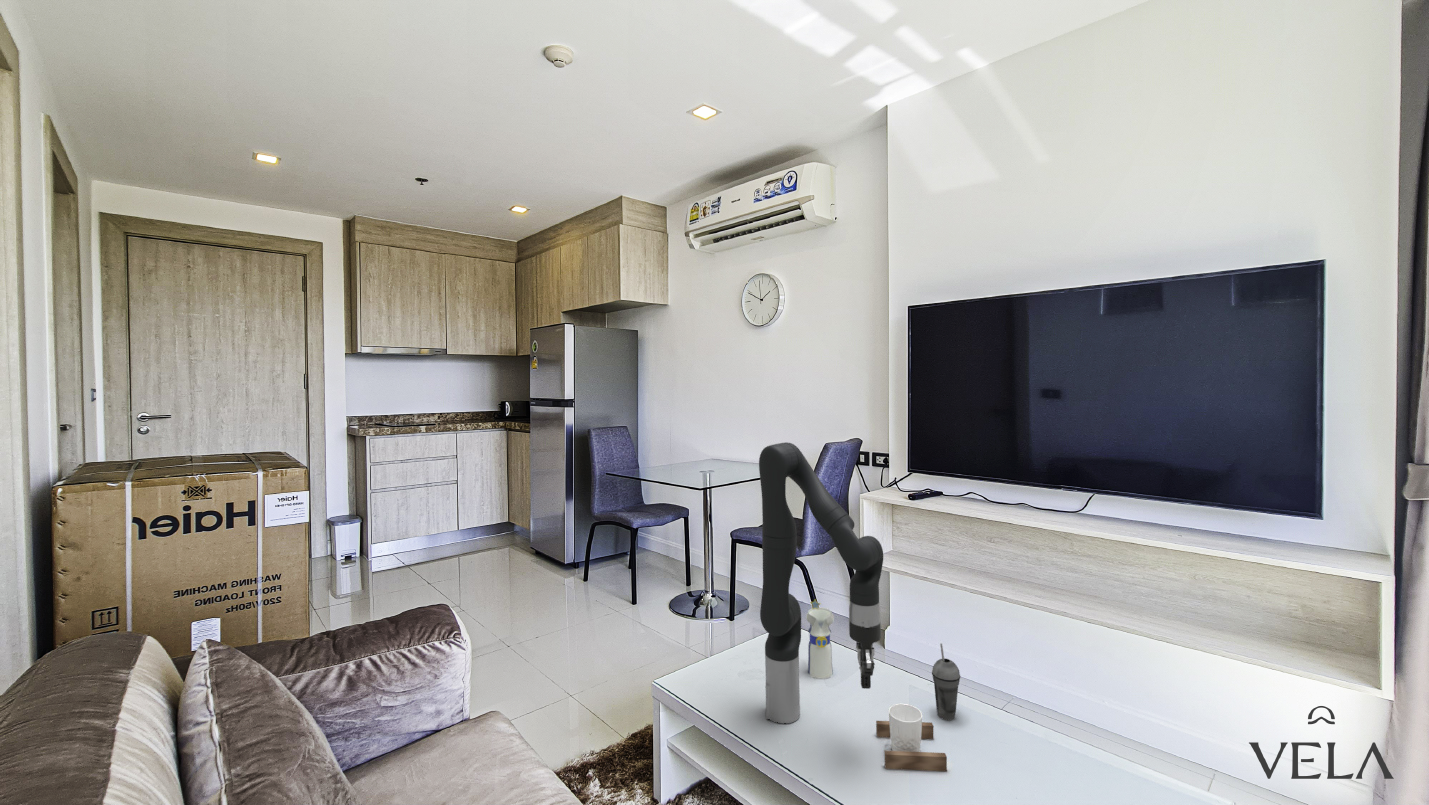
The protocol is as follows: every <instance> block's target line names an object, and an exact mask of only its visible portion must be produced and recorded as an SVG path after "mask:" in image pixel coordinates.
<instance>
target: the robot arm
mask: <svg viewBox="0 0 1429 805" xmlns="http://www.w3.org/2000/svg"><path fill="white" fill-rule="evenodd" d="M758 471H759V480H760V481H759V482H760V490H761V504H762V506H761V509H762V510H761V513H762V525H761V526H762V528H761V530H762V531H761V533H762V535H761V536H762V537H761V542H762V543H761V544H762V549H761V550H762V590H761V591H762V592H761V601H760V611H759V615H760V616H759V617H760V622H761V625H762V627H763V629H764V630H765V632H766V633H767V634H768V635H767V638H766V640H765V643H764V655H765V656H764V658H765V661H764V662H765V663H764V664H765V719H766V720H767V719H771V720H770V721H772V720H773V721H772V722H774V721H775V722H774V723H777V722H778V723H777V724H784V723H786V724H790V723H794V722H796V721H797V720H799V718H800V716H801V704H800V700H801V699H800V698H801V697H800V696H801V694H800V689H801V688H800V654H799V653H800V651H799V650H800V645H801V642H802V641H801V640H802V639H801V638H802V610H801V609H802V608H801V605H800V603H799V601H798V599H797V597H795V596H794V595H793V594H792V593H790V582H791V576H792V572H793V569H794V565H795V561H796V555H797V549H798V547H797V546H798V543H797V542H798V541H797V538H798V534H797V525H796V521H795V519H794V516H793V514H792V512H791V509H790V507H789V505H788V503H787V502H788V500H787V496H786V494H787V493H786V483H787V482H786V481H787V478H790V479H791V480H792V481H793V482H794V483H795V484H796V486H798V487H799V488H800V490H801V491H802V493H803V495H804V497H805V499H806V502H807V505H808V507H809V510H810V512H811V515H812V516H813V517H814V519H815V521H816V522H817V523H818V524H819V525H820V527H821V528H823V530H824V532H826V533H827V534H828V536H829V537H830V538H831V539H832V542H833V543H834V544H833V545H834V546H835V548H836V550H837V551H838V554H839V556H841V558H842V560H843V562H844V563H845V564H846V565H847V566H848V567H849V568H850V569H853V570H854V571H855V572H854V575H852V577H851V578H850V581H849V603H848V604H849V606H848V626H849V627H848V631H849V632H848V634H849V637H850V639H851V640H852V641H855V646H856V652H857V661H858V662H857V663H858V665H859V671H860V686H861V689H871V684H872V683H871V682H872V681H871V680H872V678H871V676H873V675H874V669H875V665H876V664H875V660H874V656H875V647H874V644H875V643H877V642H879V641H880V640H881V638H882V636H881V634H882V631H881V630H882V628H881V627H882V626H881V625H882V624H881V619H882V618H881V606H880V587H879V584H880V580H881V575H882V571H883V565H884V551H883V550H884V549H883V546H882V544H881V543H880V541H879V540H878V538H876V537H875V536H872V535H864V536H861V537H857V535H856V533H855V532H854V528H855V521H854V520H853V518H852V517H851V516H850V515H849V514H848V512H847V511H846V510H845V509H844V508H843V507H842V506H841V505H840V503H838V502H837V500H836V499H835V498H834V496H832V494H830V492H829V491H828V489H827V488H826V487H825V485H824V484H823V482H822V481H821V479H820V478H819V477H818V475H817V474H816V472H815V470H814V469H813V467H812V466H811V464H810V463H809V461H808V460H807V459H806V457H805V455H804V454H803V452H802V451H801V449H800V448H799V447H797V446H796V445H795V444H794V443H791V442H780V443H775V444H769V445H767V446H766V447H763V449H762V450H761V452H760V455H759V458H758Z"/></svg>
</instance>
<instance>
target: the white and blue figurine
mask: <svg viewBox="0 0 1429 805" xmlns="http://www.w3.org/2000/svg"><path fill="white" fill-rule="evenodd" d="M809 603H810V604H811V605H812V606H811V608H810V609H809V610H807V613H806V617H805V618H806V621H807V622H808V623H809V624H810V625H809V628H808V631H807V632H808V634H809V640H808V645H807V646H808V648H807V649H808V652H807V653H808V655H807V656H808V660H807V661H808V663H807V674H808V675H809V676H810V677H812V678H813V679H818V680H825V679H826V680H827V679H829V678H831V677H832V676H833V674H834V672H833V671H834V669H833V652H832V651H833V650H832V643H831V634H832V630H831V628H830V626H831V625H832V624H833V623H834V621H835V616H834V615H833V612H832V611H831V610H830V609H829V608H827V607H819V606H820V605H822V603H821V602H817V599H816V598H815V599H813V601H810V602H809Z"/></svg>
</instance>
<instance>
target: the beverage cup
mask: <svg viewBox="0 0 1429 805" xmlns="http://www.w3.org/2000/svg"><path fill="white" fill-rule="evenodd" d="M939 645H940V652H941V658H940V659H938V660H936V662H934V664H933V666H932V670H931V675H932V680H933V683H934V684H933V686H934V696H935V708H936V713H937V714H936V715H937V716H938V718H939V719H941V720H943V721H953V720H955V719H956V713H957V705H958V704H957V702H958V692H959V685H960V679H961V674H960V670H959V667H958V665H957V664H956V663H955V662H954V661H953V660H951V659H949V658H945V656H944V647H943V643H941V642H940V644H939Z"/></svg>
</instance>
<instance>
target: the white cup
mask: <svg viewBox="0 0 1429 805" xmlns="http://www.w3.org/2000/svg"><path fill="white" fill-rule="evenodd" d="M888 721H889V725H890V747H891V749H890V750H891V751H909V752H921V745H922V744H921V743H922V739H921V734H922V722H923V713H922V711H921V710H920V709H919V708H918V707H916V706H914V705H911V704H907V703H896V704H892V705H891V706H890V707H889V709H888Z"/></svg>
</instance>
